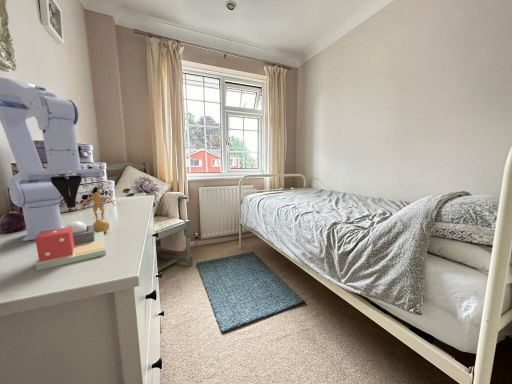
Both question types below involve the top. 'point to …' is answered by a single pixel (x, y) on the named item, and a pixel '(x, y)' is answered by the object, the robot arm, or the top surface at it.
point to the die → (55, 243)
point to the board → (78, 253)
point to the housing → (85, 236)
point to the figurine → (99, 224)
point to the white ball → (77, 227)
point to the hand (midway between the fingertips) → (71, 207)
